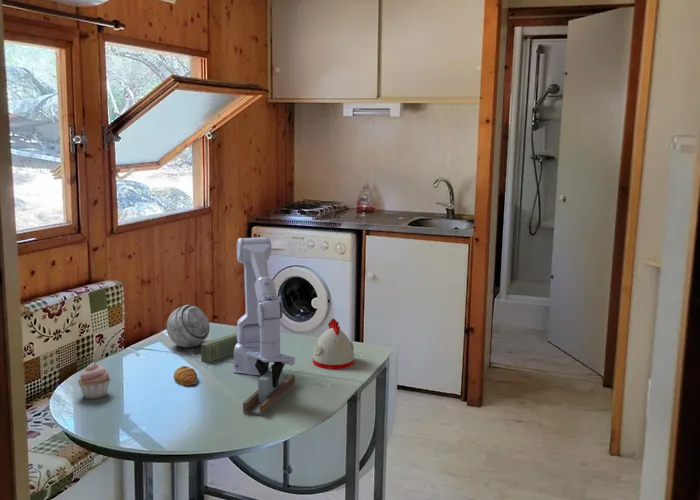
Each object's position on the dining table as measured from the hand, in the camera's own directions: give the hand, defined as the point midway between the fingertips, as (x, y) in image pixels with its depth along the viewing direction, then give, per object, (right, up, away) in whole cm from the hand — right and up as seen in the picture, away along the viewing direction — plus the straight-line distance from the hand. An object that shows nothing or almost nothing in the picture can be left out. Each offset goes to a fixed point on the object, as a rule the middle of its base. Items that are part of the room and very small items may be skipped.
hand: (270, 385), depth 197 cm
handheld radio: (-18, +3, +39) cm, 43 cm away
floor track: (0, -4, +1) cm, 4 cm away
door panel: (0, -3, +1) cm, 3 cm away
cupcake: (-51, -3, +1) cm, 51 cm away
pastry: (-27, -1, +14) cm, 31 cm away
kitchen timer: (+18, +1, +32) cm, 36 cm away
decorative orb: (-34, +5, +46) cm, 57 cm away
